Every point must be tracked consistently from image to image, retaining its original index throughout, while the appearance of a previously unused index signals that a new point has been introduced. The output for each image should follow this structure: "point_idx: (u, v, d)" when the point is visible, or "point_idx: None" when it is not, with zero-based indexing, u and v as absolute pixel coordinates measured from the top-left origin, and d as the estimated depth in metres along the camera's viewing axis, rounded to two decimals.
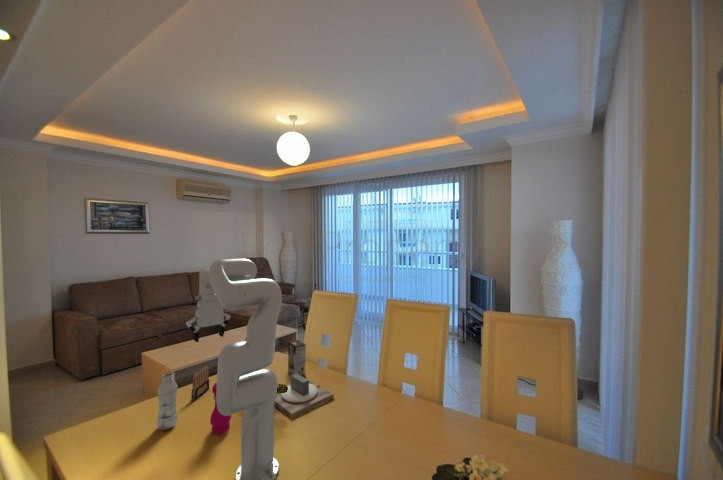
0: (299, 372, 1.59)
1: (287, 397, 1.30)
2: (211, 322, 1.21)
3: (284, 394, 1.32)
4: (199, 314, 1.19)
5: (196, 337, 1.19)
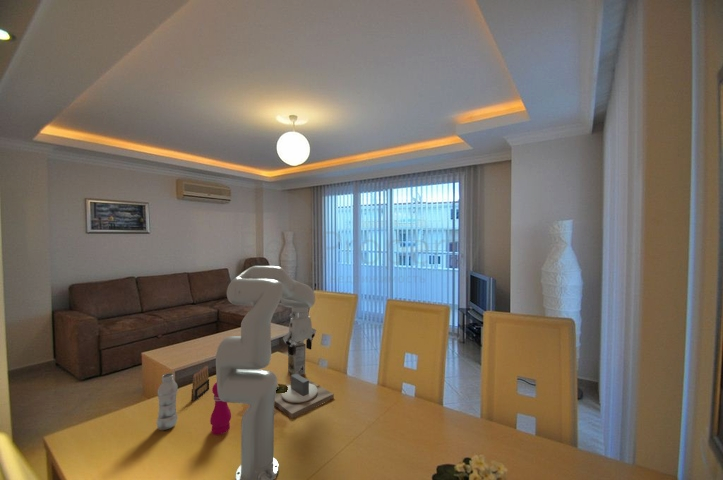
0: (299, 372, 1.59)
1: (287, 397, 1.30)
2: (303, 337, 1.34)
3: (284, 394, 1.32)
4: (294, 330, 1.31)
5: (291, 351, 1.31)
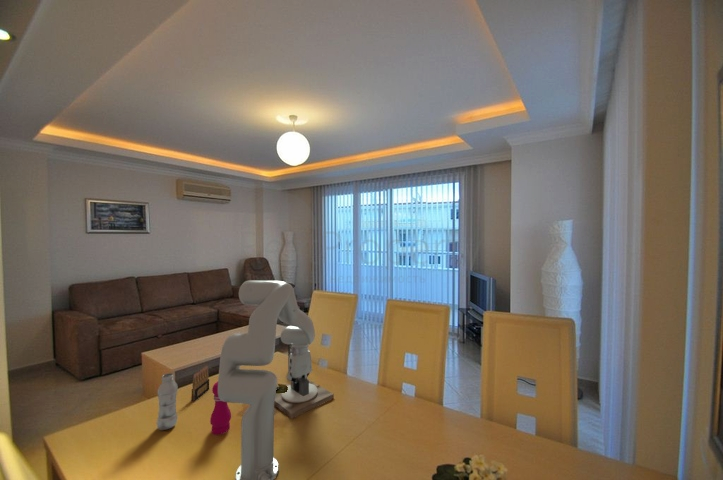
0: None
1: (287, 397, 1.30)
2: (303, 372, 1.33)
3: (284, 394, 1.32)
4: (294, 366, 1.31)
5: (296, 387, 1.33)
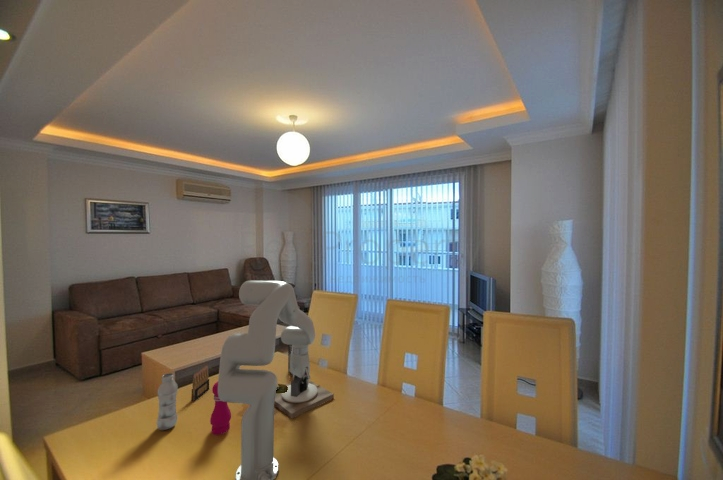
0: None
1: None
2: (294, 372, 1.34)
3: (290, 386, 1.40)
4: (290, 360, 1.37)
5: None
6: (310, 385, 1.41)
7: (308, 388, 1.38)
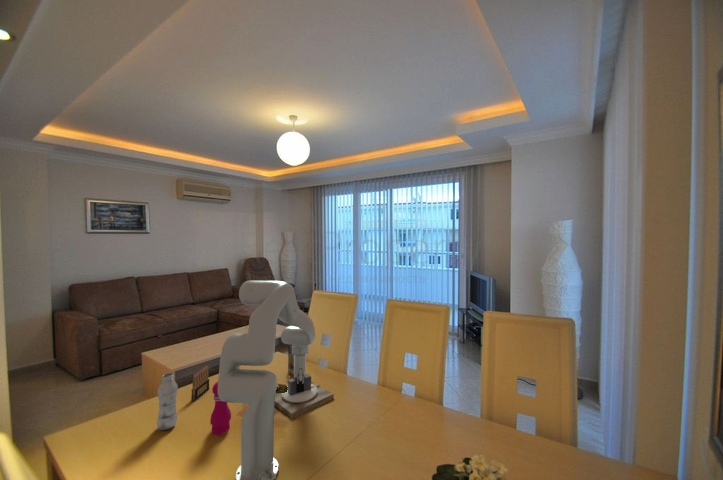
0: None
1: None
2: None
3: None
4: None
5: None
6: (314, 388, 1.38)
7: (309, 391, 1.35)
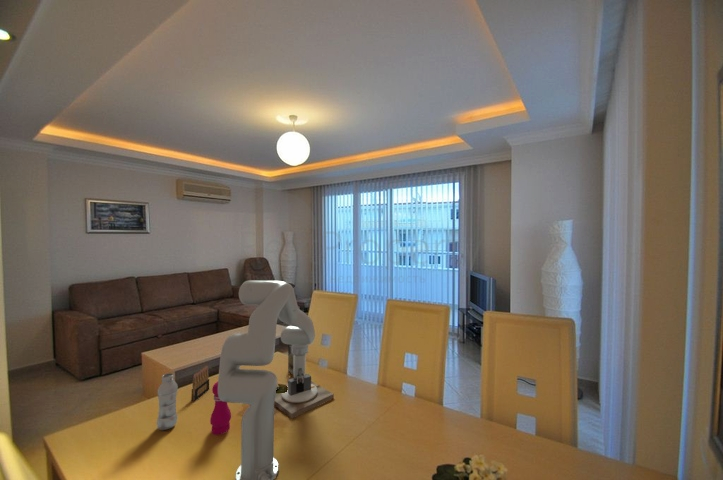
0: None
1: None
2: None
3: None
4: None
5: None
6: (314, 388, 1.37)
7: (309, 391, 1.35)
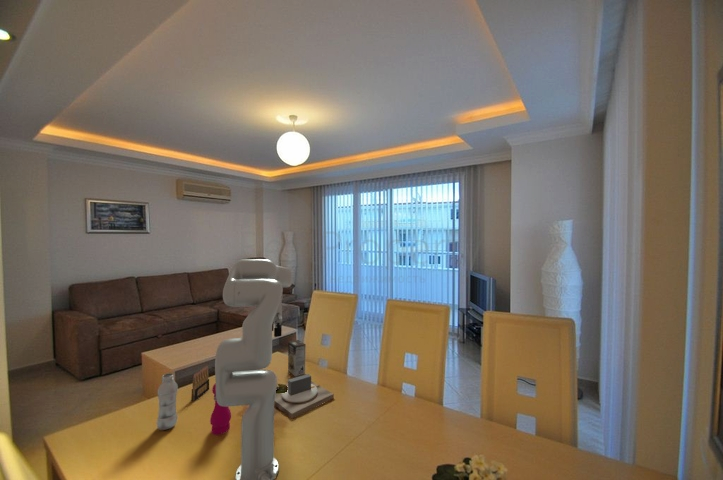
0: (299, 372, 1.59)
1: None
2: None
3: None
4: None
5: None
6: (314, 388, 1.37)
7: (309, 391, 1.35)
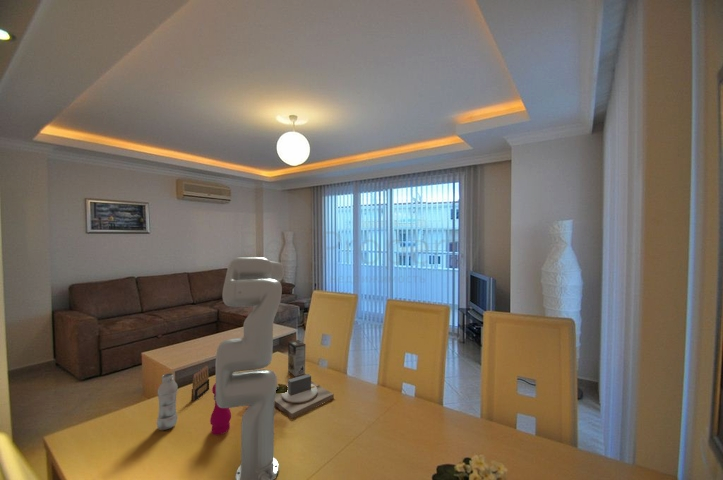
0: (299, 372, 1.59)
1: None
2: None
3: None
4: None
5: None
6: (314, 388, 1.37)
7: (309, 391, 1.35)
